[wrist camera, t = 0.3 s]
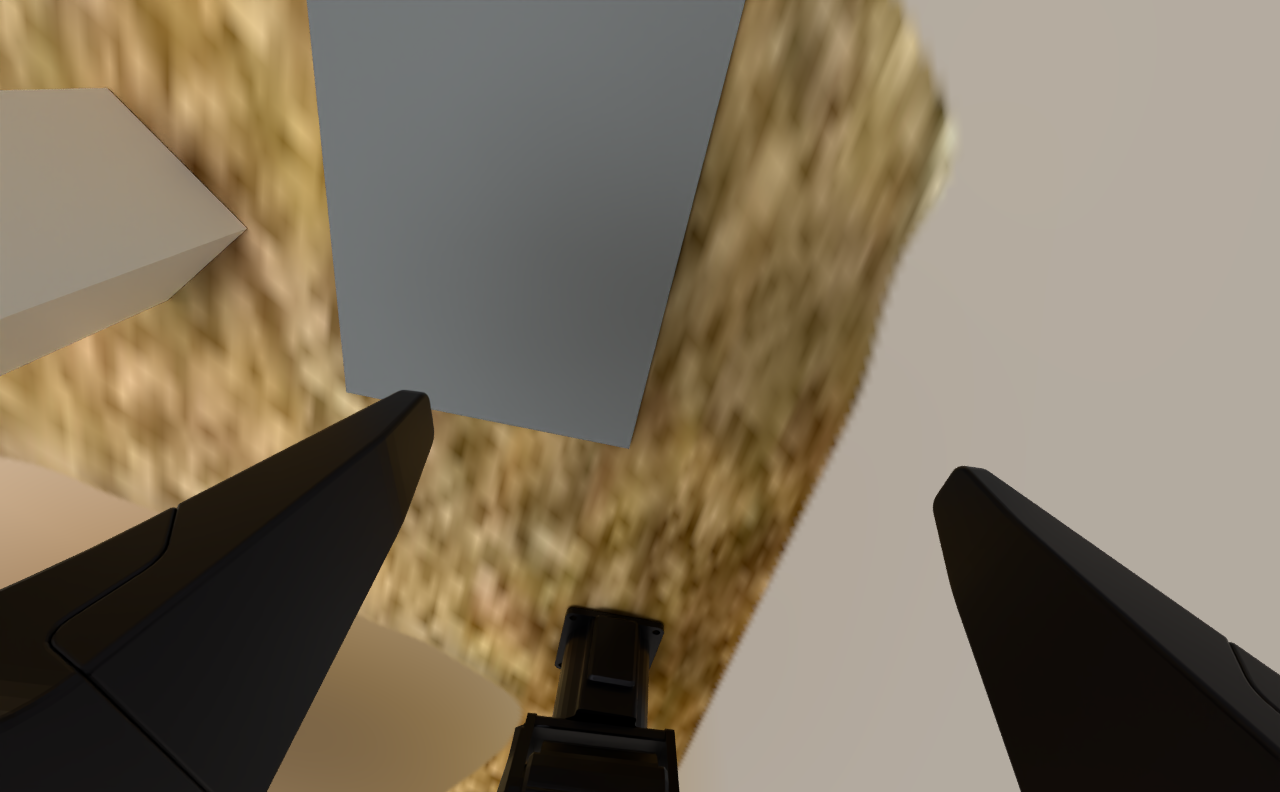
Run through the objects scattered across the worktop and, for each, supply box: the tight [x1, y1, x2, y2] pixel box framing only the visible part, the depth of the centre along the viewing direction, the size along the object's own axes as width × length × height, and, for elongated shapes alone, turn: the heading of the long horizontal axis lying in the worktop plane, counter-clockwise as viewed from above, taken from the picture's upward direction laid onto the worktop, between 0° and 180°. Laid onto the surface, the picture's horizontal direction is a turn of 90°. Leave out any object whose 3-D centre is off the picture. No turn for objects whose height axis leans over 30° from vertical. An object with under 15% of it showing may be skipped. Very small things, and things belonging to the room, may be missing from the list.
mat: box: [307, 0, 745, 449], centre depth 21 cm, size 20×14×1 cm
